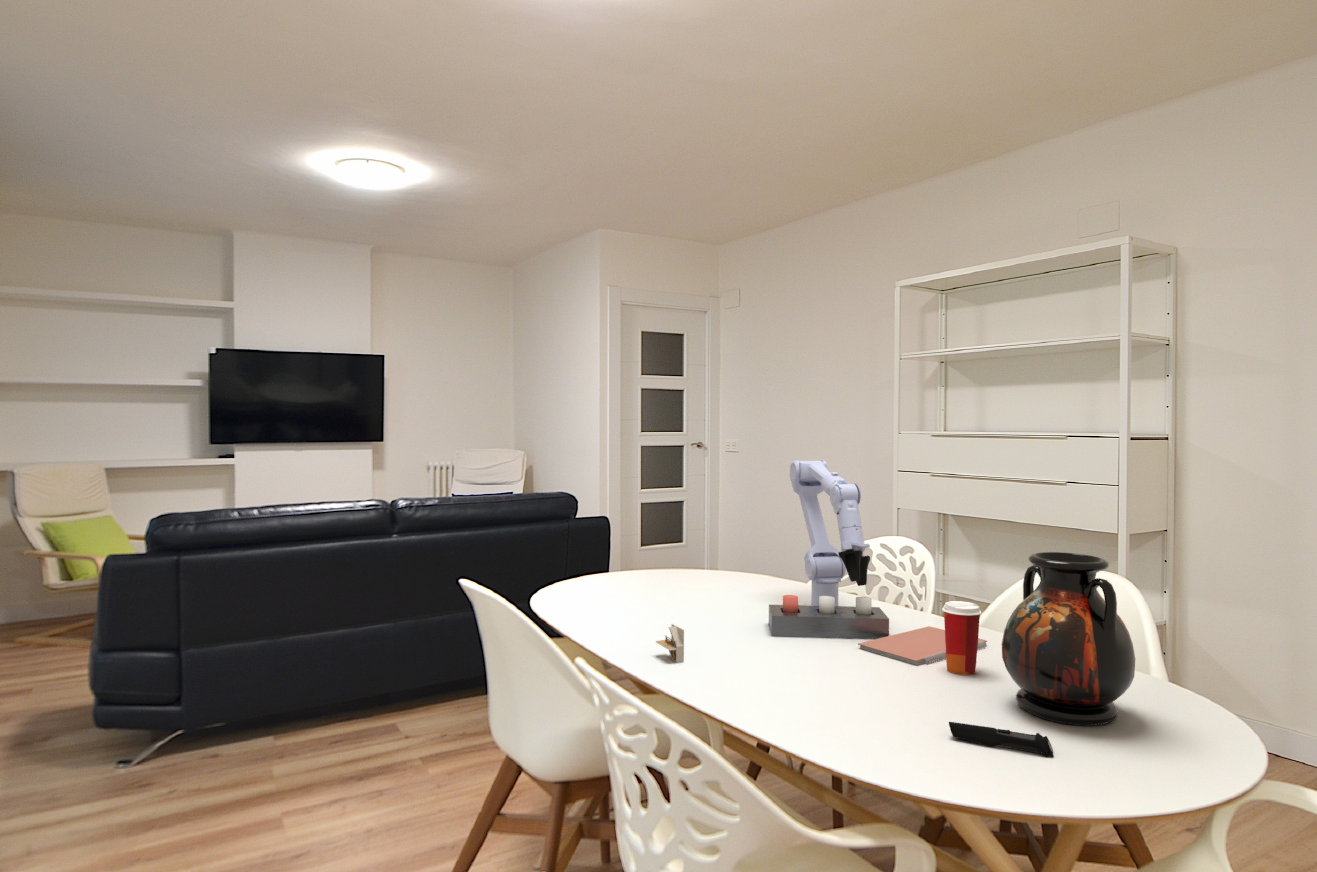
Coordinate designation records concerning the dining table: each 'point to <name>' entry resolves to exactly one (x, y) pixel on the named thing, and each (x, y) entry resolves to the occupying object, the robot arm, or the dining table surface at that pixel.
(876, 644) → the notebook
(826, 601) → the plug
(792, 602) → the red plug
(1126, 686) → the amphora vase
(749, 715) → the dining table surface
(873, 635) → the block
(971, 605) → the paper cup
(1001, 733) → the electric trimmer
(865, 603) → the plug
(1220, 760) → the dining table surface
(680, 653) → the architectural model
